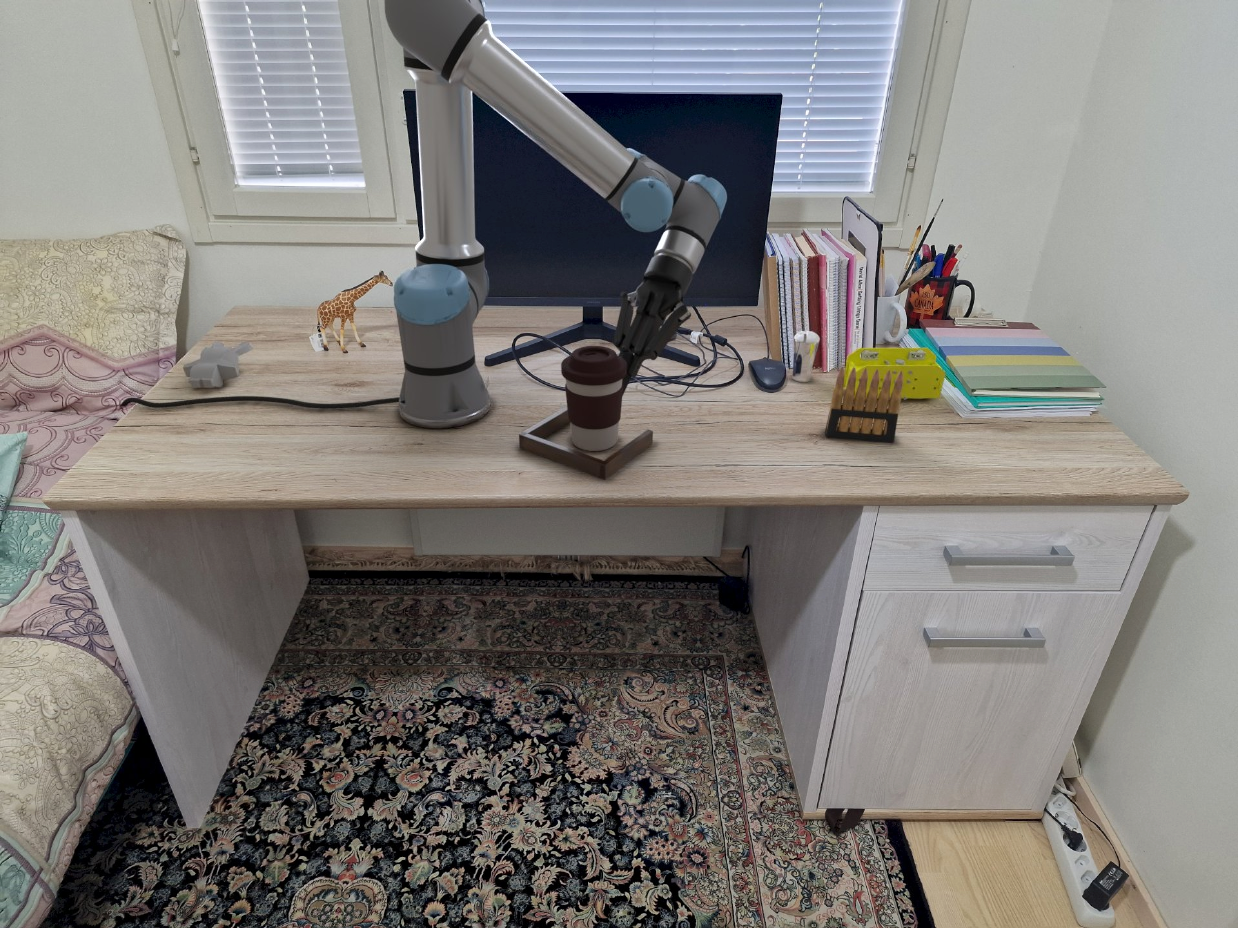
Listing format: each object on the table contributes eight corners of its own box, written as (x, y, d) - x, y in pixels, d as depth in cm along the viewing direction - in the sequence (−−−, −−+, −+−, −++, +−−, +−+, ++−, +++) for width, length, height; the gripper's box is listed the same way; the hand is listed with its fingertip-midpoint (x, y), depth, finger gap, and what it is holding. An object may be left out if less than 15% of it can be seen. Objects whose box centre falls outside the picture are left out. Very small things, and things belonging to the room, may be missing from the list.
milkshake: (785, 382, 141) (792, 332, 136) (791, 372, 146) (798, 322, 141) (810, 387, 140) (818, 335, 135) (815, 376, 144) (823, 325, 139)
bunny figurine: (169, 372, 133) (204, 332, 145) (179, 397, 137) (212, 356, 149) (224, 372, 134) (254, 332, 146) (232, 397, 137) (261, 356, 149)
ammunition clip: (825, 437, 123) (836, 368, 117) (824, 431, 125) (835, 364, 119) (893, 443, 122) (908, 373, 116) (892, 437, 123) (907, 369, 117)
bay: (570, 417, 128) (569, 404, 127) (652, 444, 121) (653, 430, 119) (519, 448, 119) (518, 434, 118) (605, 479, 111) (605, 465, 110)
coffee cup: (621, 459, 117) (622, 368, 109) (557, 454, 118) (554, 364, 110) (629, 429, 125) (630, 343, 117) (570, 425, 126) (568, 339, 119)
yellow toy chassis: (927, 389, 139) (937, 346, 135) (939, 403, 135) (949, 359, 130) (840, 389, 139) (847, 347, 135) (849, 403, 134) (857, 359, 130)
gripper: (714, 284, 126) (657, 411, 122) (648, 271, 132) (592, 391, 129) (700, 259, 119) (640, 392, 116) (632, 247, 126) (572, 372, 122)
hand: (615, 392), depth 122 cm, fingers closed
